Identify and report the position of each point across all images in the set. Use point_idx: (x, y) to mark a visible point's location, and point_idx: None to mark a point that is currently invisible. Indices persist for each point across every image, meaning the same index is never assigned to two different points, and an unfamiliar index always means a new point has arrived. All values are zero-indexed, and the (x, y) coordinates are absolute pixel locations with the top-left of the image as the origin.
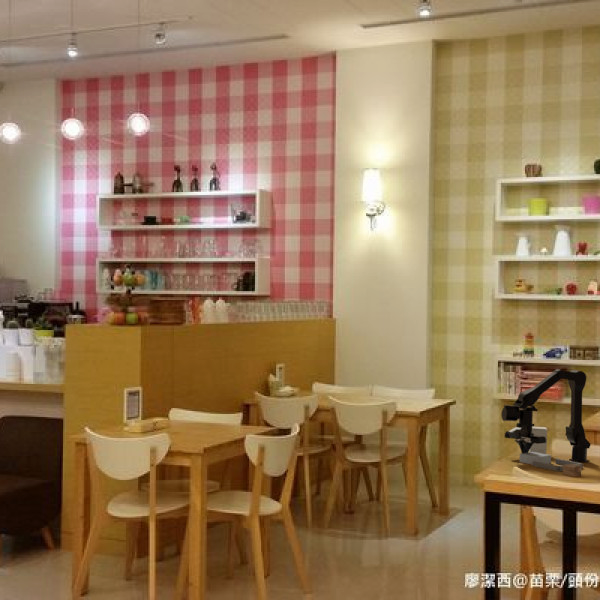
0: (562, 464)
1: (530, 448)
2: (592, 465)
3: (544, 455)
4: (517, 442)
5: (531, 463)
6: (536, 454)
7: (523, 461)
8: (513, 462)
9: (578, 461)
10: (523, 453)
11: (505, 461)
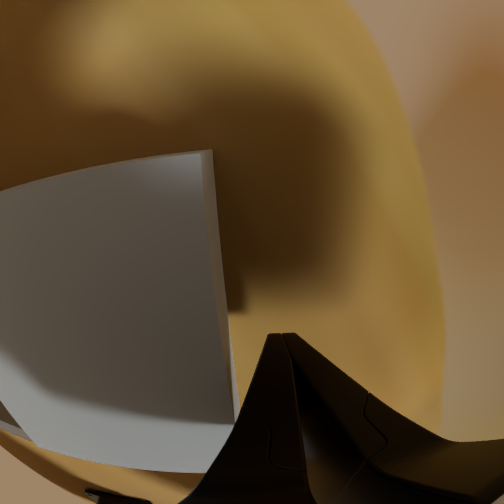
0: None
1: None
2: (26, 463)
3: (10, 397)
4: (496, 446)
5: (31, 181)
6: (63, 387)
7: (138, 158)
8: (233, 40)
9: (95, 492)
10: (191, 274)
11: (340, 16)
